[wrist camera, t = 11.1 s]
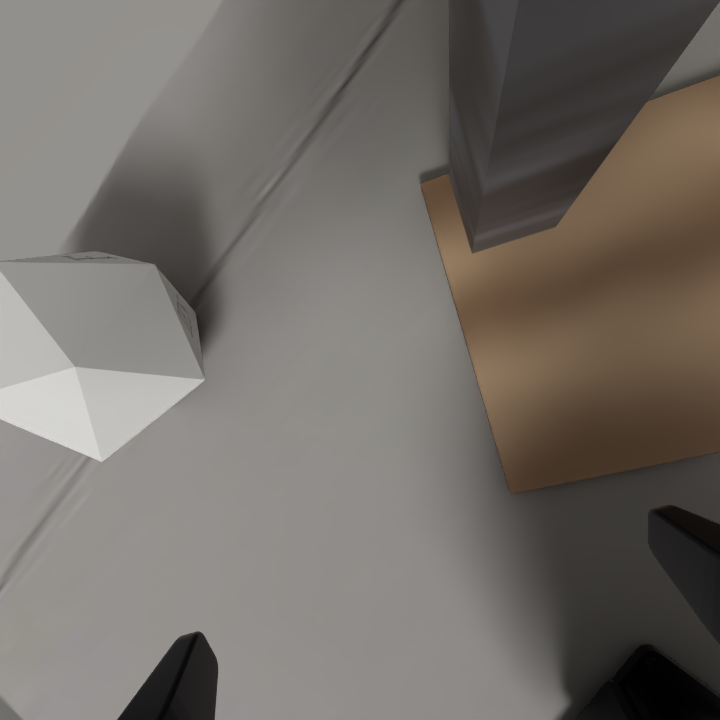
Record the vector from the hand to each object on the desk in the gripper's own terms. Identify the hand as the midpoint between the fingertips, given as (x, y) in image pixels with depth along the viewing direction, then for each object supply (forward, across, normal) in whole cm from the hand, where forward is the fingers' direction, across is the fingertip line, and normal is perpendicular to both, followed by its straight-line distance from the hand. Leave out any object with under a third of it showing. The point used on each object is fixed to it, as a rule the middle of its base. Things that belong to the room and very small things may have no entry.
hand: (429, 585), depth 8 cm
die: (+16, +10, -2) cm, 19 cm away
